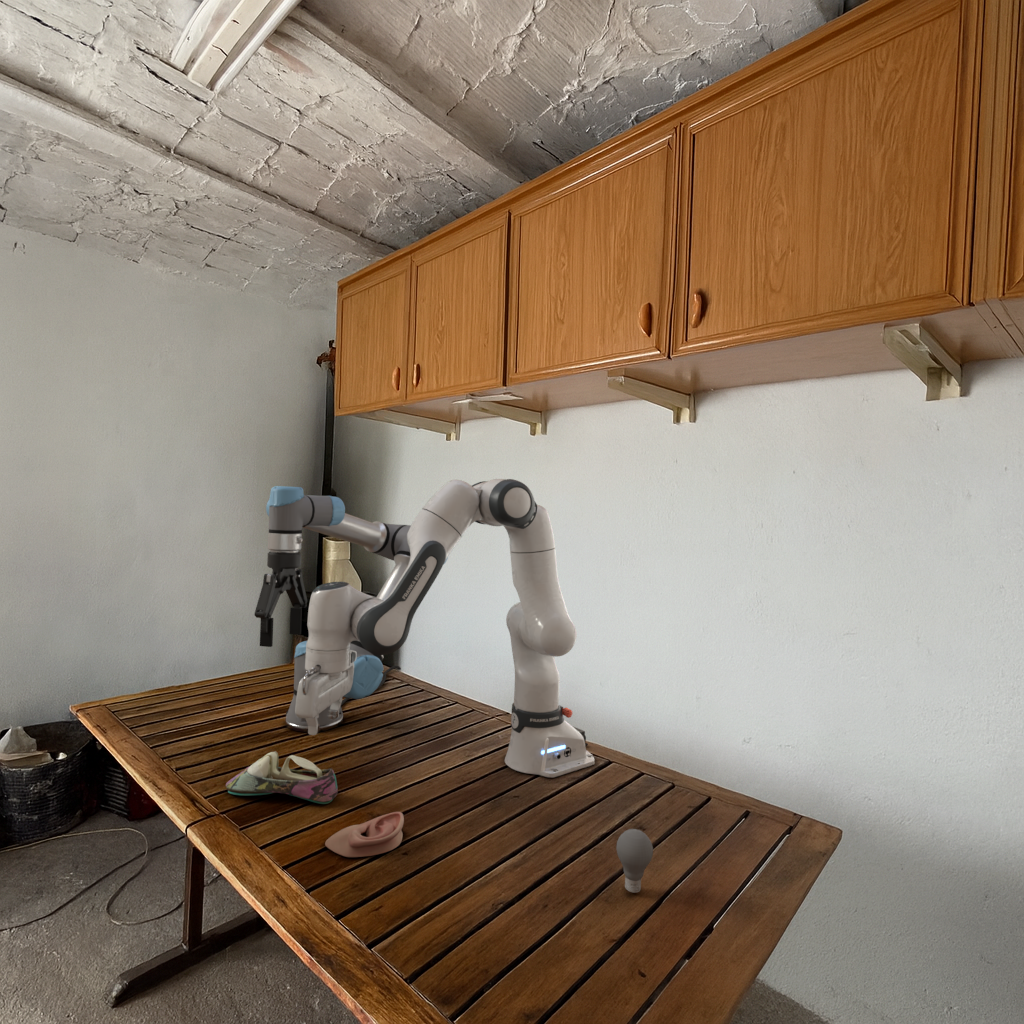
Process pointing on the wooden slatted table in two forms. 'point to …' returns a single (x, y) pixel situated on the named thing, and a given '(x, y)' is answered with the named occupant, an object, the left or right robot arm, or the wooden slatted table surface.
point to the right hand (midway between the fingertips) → (323, 725)
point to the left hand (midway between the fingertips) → (281, 640)
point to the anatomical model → (368, 837)
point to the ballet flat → (285, 780)
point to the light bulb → (634, 857)
